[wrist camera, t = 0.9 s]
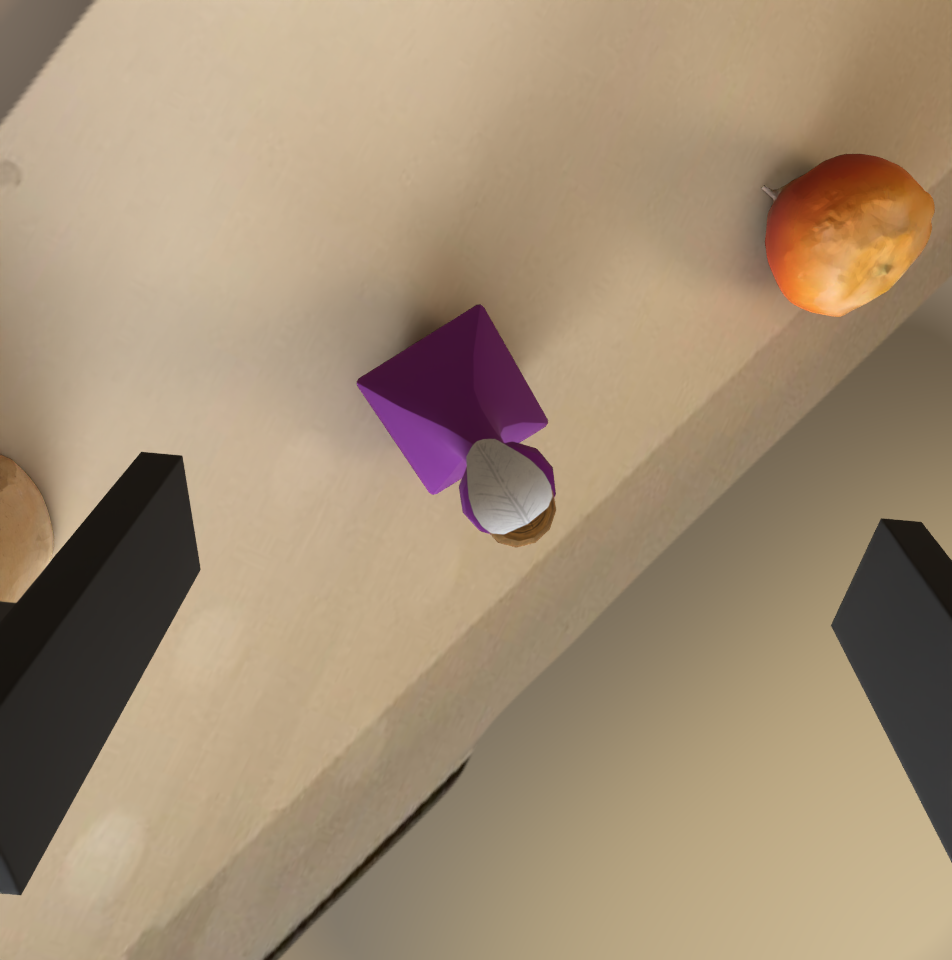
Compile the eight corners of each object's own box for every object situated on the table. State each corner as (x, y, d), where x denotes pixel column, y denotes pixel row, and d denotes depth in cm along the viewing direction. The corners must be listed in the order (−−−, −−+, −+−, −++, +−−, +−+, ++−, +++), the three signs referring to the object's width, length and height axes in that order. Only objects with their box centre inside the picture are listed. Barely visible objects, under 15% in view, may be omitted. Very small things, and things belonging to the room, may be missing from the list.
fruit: (867, 94, 38) (983, 167, 34) (843, 220, 45) (937, 297, 40) (727, 157, 38) (822, 239, 33) (722, 275, 45) (802, 358, 40)
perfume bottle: (535, 408, 43) (659, 535, 26) (425, 476, 43) (478, 645, 26) (470, 295, 40) (563, 356, 23) (353, 368, 40) (361, 481, 24)
